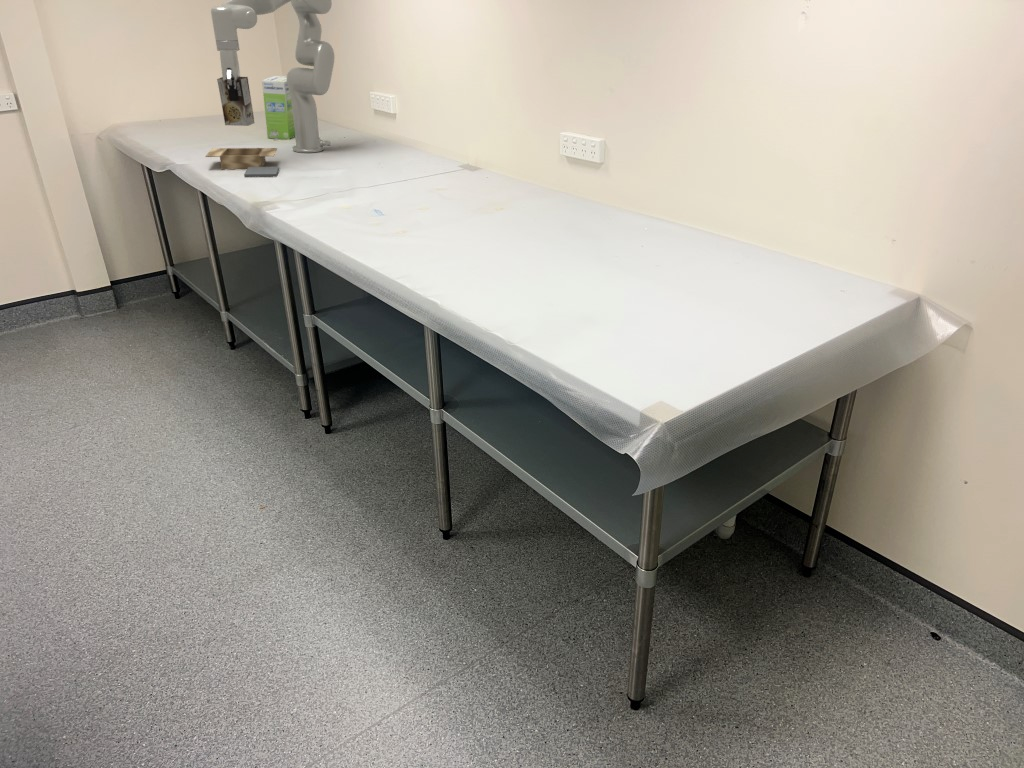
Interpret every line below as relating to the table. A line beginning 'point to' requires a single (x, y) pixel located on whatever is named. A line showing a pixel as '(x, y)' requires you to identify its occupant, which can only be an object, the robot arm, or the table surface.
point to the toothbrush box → (278, 108)
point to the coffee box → (236, 103)
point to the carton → (241, 157)
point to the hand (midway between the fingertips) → (235, 98)
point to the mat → (261, 172)
